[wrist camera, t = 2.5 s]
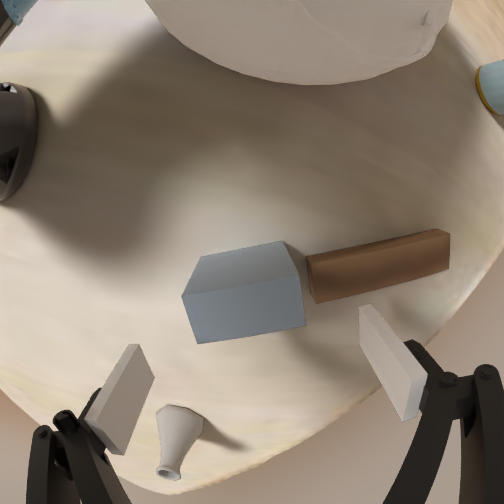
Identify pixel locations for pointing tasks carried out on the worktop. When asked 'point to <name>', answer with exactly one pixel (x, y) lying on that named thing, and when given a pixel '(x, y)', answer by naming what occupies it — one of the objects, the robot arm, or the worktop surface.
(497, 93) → the bottle
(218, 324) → the slab
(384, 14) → the pot
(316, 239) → the worktop surface
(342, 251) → the block
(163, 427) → the flask
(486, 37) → the worktop surface
